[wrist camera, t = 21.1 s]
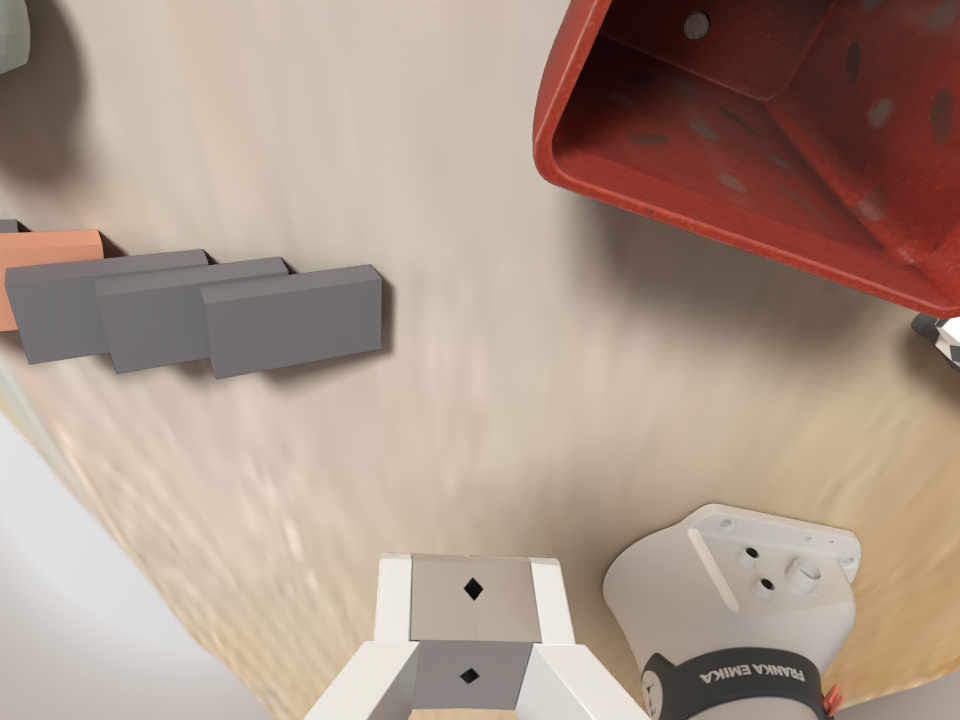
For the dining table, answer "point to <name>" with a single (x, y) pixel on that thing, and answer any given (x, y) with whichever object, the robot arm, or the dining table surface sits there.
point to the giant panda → (941, 336)
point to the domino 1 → (42, 257)
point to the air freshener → (13, 34)
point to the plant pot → (772, 131)
